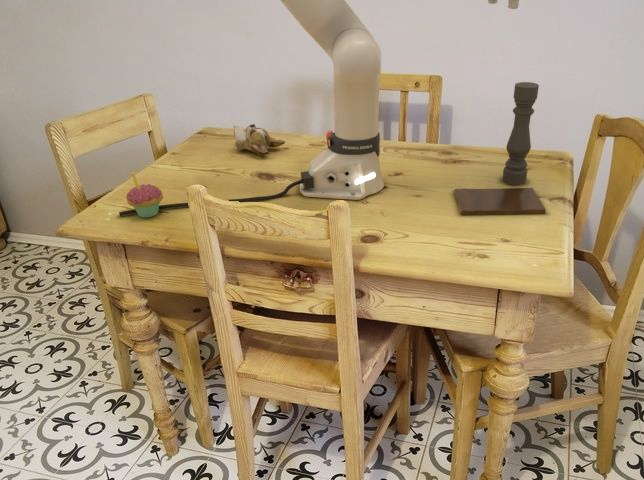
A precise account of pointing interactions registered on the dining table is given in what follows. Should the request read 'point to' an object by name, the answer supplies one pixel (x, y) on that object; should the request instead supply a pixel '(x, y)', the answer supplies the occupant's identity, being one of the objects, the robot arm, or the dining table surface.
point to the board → (498, 201)
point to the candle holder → (520, 134)
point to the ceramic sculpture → (254, 139)
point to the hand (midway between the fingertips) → (502, 5)
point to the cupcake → (144, 198)
